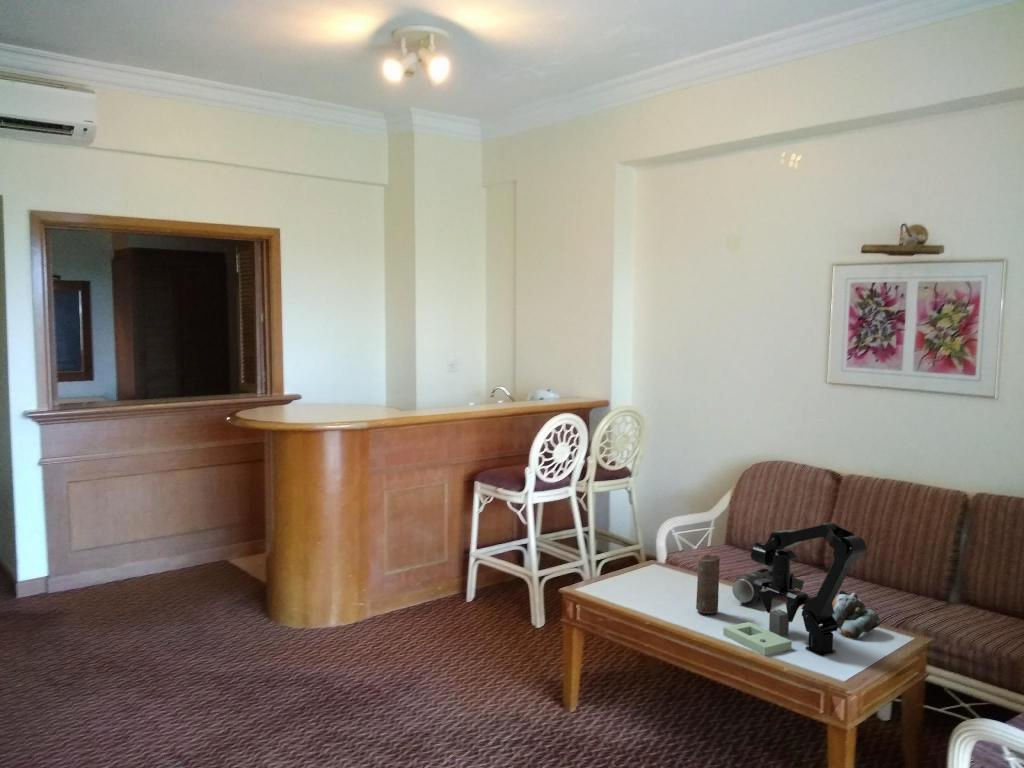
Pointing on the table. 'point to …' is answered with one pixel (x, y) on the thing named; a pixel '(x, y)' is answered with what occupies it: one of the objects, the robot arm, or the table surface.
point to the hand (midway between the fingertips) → (779, 617)
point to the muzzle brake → (749, 585)
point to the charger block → (779, 623)
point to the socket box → (757, 638)
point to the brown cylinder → (708, 583)
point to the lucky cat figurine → (853, 615)
